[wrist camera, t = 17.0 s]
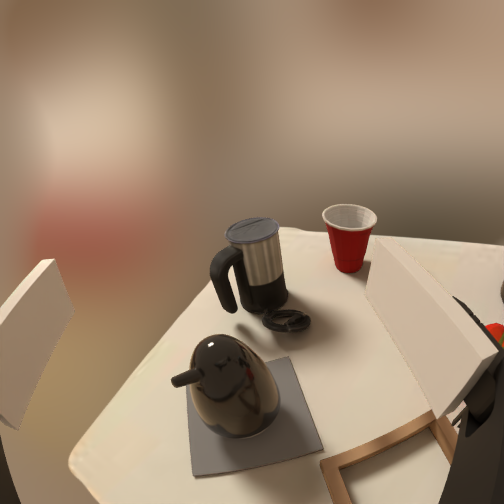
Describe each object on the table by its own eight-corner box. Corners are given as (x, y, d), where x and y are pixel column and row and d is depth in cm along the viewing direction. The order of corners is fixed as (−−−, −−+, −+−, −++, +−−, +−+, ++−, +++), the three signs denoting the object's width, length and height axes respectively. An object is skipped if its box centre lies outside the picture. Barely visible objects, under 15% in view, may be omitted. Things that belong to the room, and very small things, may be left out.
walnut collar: (432, 413, 26) (438, 404, 24) (480, 499, 12) (490, 494, 10) (319, 465, 24) (320, 460, 23) (357, 569, 11) (361, 572, 9)
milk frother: (255, 279, 59) (242, 215, 52) (328, 292, 51) (325, 221, 44) (217, 325, 49) (193, 255, 41) (300, 349, 41) (292, 271, 34)
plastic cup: (365, 286, 50) (368, 230, 44) (316, 274, 57) (312, 221, 51) (380, 257, 57) (382, 207, 51) (336, 248, 64) (334, 200, 58)
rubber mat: (288, 357, 40) (288, 356, 40) (322, 449, 26) (323, 448, 26) (186, 381, 39) (185, 379, 39) (193, 476, 25) (192, 475, 25)
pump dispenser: (192, 415, 33) (143, 346, 25) (247, 372, 38) (221, 294, 31) (240, 463, 26) (199, 413, 18) (299, 410, 31) (291, 337, 24)
